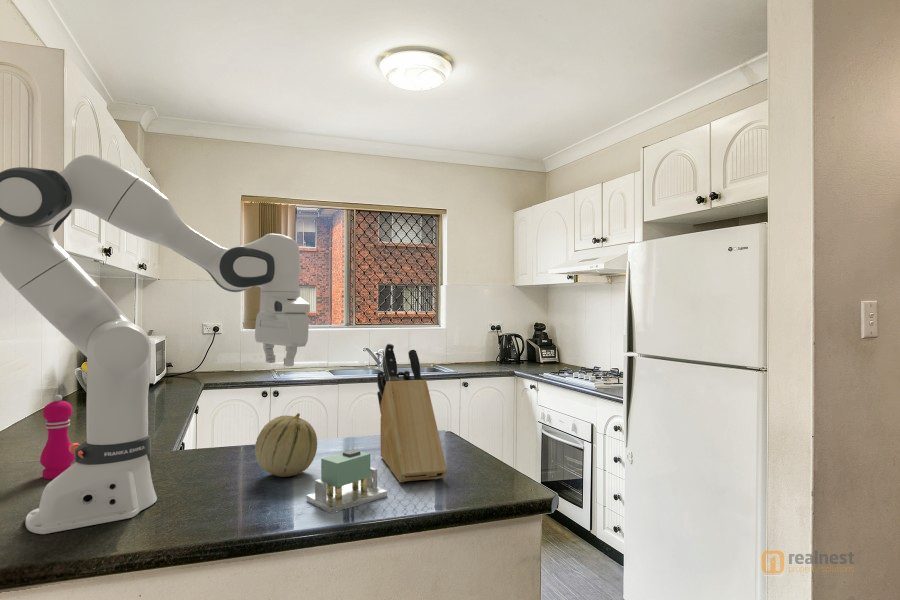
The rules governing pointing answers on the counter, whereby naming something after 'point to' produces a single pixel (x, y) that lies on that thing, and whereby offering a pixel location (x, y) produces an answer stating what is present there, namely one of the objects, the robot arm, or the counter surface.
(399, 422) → the knife block
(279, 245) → the robot arm
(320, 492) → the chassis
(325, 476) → the green box
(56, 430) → the pepper mill
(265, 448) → the cantaloupe
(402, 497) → the counter surface
